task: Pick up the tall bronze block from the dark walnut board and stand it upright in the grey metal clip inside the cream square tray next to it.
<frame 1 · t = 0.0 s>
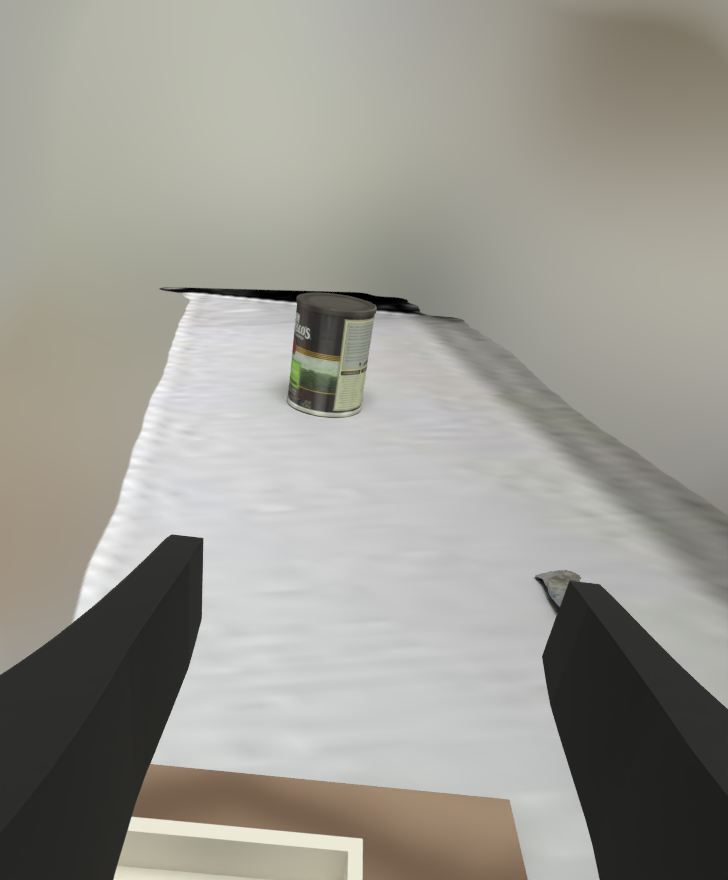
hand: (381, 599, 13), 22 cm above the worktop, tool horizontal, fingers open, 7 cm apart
coffee can: (324, 405, 87), on the worktop
driftwood: (602, 666, 46), on the worktop
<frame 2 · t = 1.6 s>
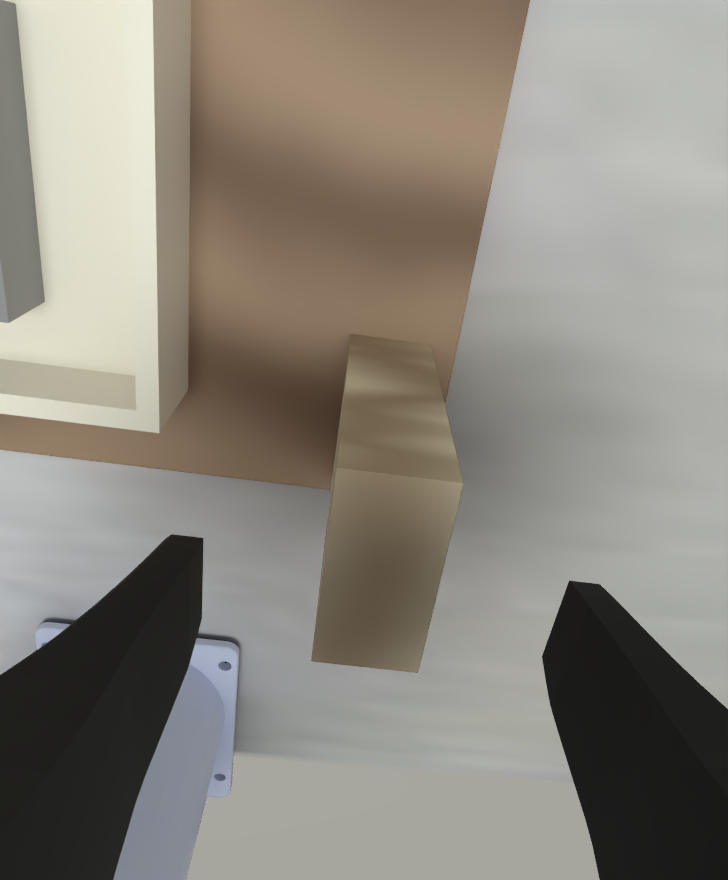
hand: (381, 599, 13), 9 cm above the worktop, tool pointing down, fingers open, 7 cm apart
board: (123, 132, 17), on the worktop
tall bronze block: (378, 414, 20), point 1 cm above the worktop, touching board
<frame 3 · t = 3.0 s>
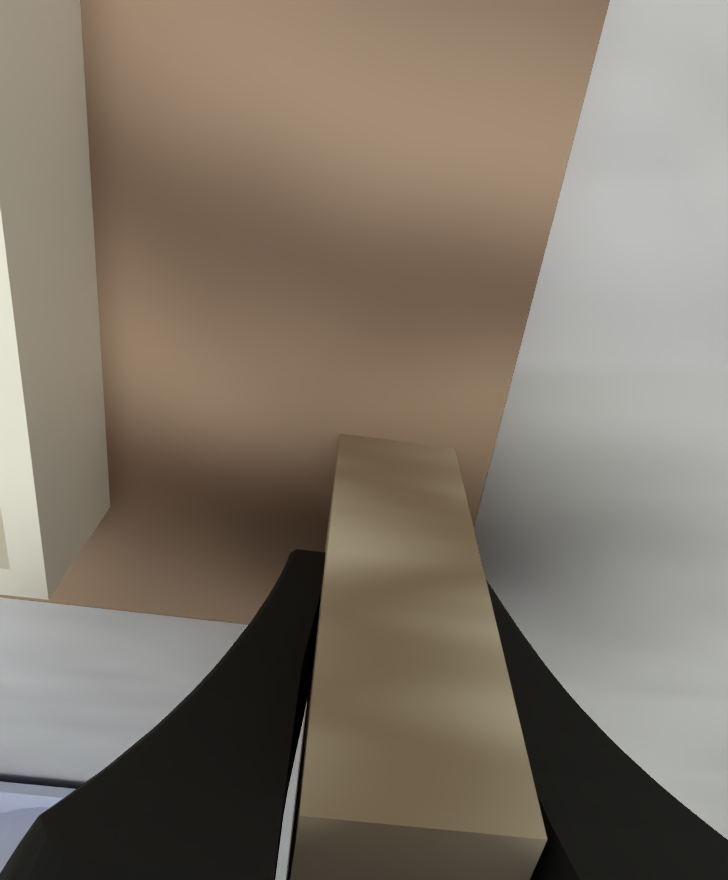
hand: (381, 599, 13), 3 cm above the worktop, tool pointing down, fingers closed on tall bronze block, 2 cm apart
tall bronze block: (380, 538, 14), point 1 cm above the worktop, touching board, gripper
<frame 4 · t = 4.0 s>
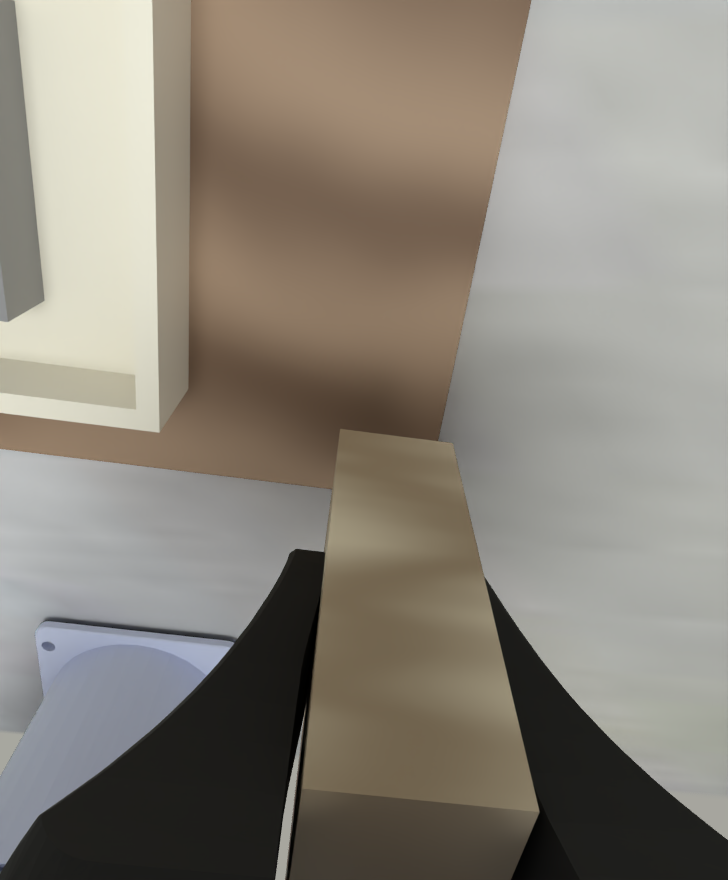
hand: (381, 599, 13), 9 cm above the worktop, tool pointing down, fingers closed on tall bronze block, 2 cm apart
board: (123, 130, 17), on the worktop
tall bronze block: (379, 532, 15), point 7 cm above the worktop, touching gripper
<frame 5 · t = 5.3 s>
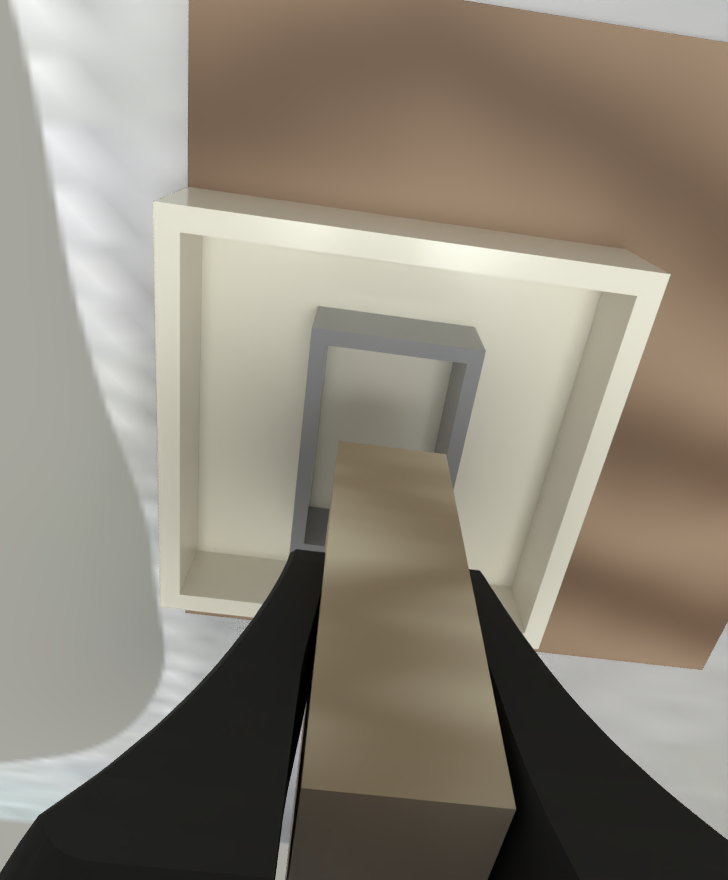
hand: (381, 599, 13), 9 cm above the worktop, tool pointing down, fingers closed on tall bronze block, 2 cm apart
board: (506, 394, 20), on the worktop
tall bronze block: (376, 538, 15), point 6 cm above the worktop, touching gripper
cream square tray: (378, 406, 21), resting on board
when the fingers open (5 cm above the worktop, at t = 6.4 s): tall bronze block stays where it is, resting on cream square tray.
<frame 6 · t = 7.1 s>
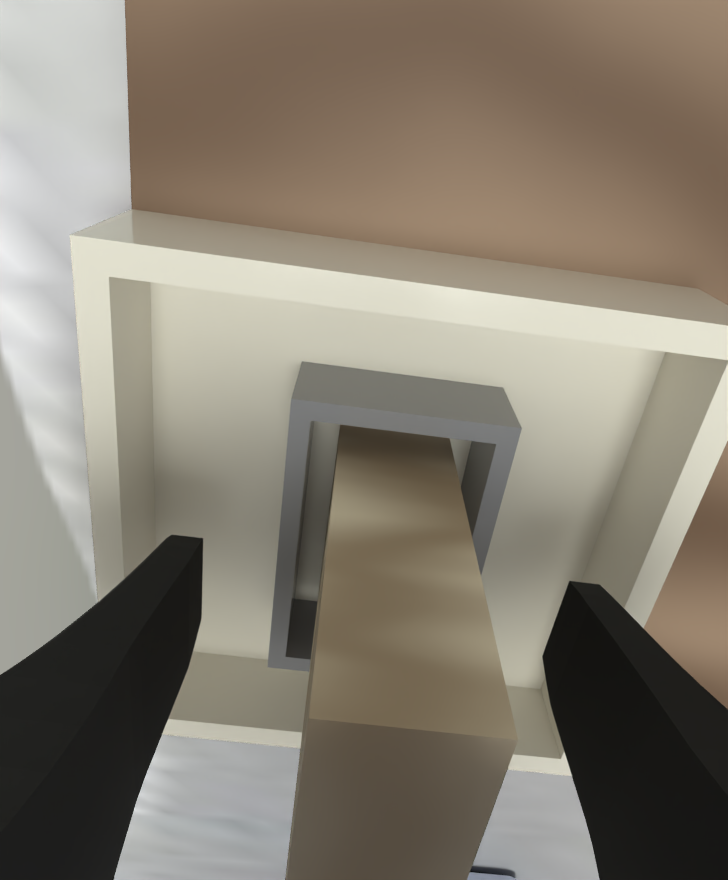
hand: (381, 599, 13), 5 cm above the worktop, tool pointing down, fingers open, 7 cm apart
board: (537, 460, 17), on the worktop
tall bronze block: (378, 513, 15), point 2 cm above the worktop, touching cream square tray
cream square tray: (379, 475, 17), resting on board
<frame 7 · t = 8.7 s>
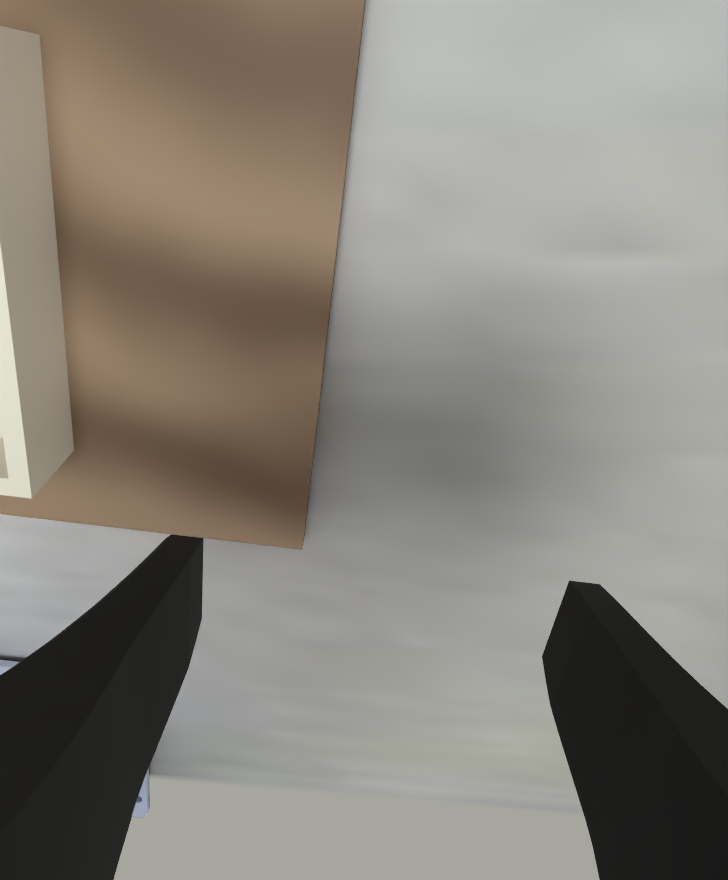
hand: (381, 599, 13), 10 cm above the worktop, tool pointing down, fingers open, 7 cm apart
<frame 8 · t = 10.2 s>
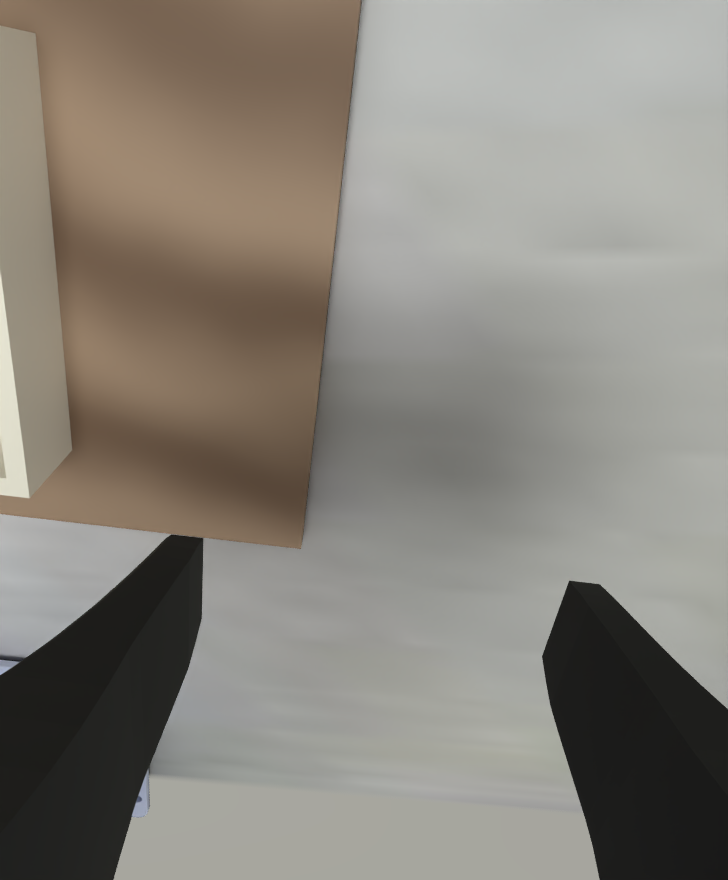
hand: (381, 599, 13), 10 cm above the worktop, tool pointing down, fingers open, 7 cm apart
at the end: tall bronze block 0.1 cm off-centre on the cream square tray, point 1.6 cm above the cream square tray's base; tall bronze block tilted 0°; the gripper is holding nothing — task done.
